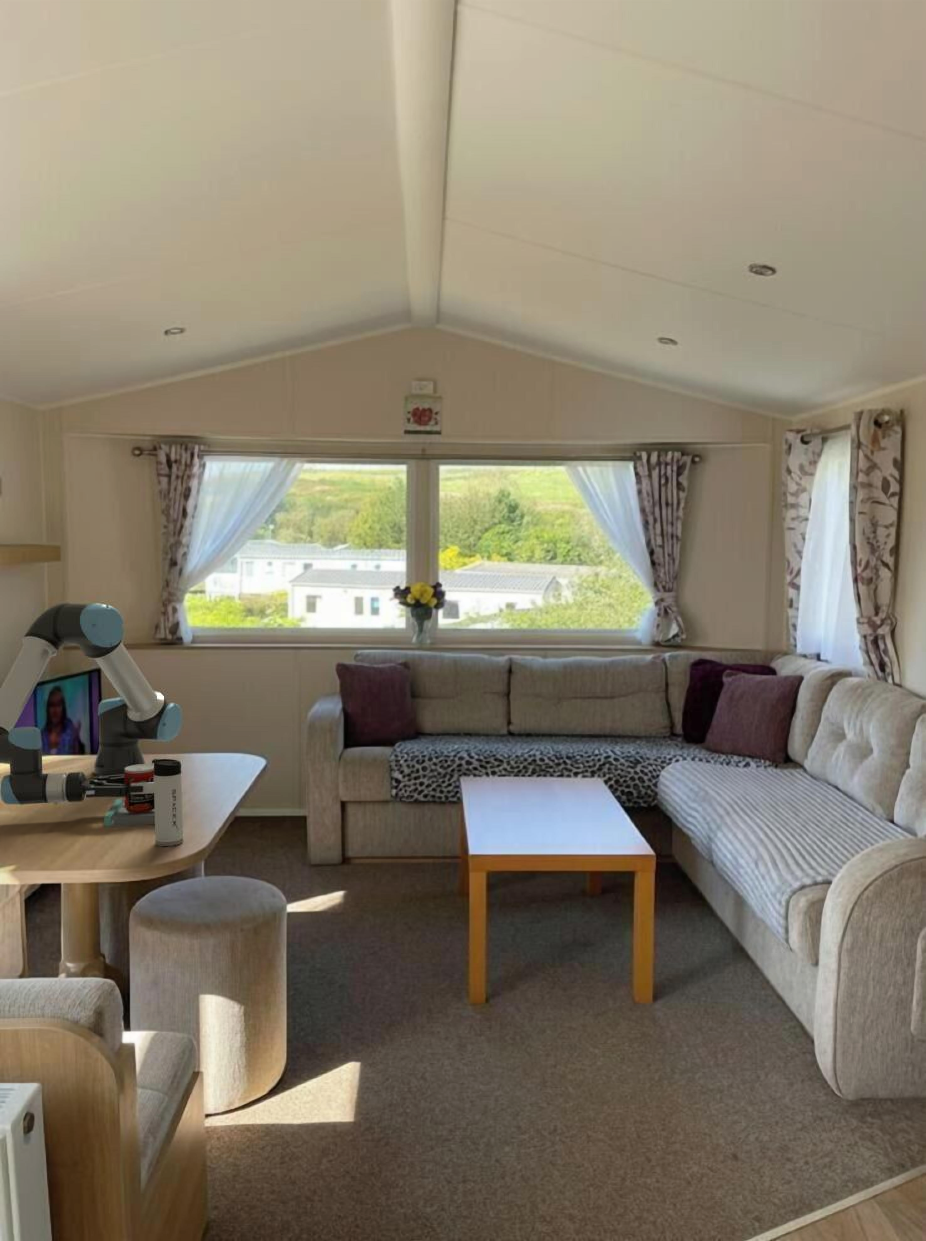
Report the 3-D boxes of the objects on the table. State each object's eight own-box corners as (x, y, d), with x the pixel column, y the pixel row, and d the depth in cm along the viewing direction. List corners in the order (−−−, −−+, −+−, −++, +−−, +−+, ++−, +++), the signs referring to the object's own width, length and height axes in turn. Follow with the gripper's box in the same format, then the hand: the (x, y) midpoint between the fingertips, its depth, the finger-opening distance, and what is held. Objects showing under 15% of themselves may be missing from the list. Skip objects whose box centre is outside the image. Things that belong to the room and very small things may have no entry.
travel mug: (157, 839, 230) (155, 757, 228) (185, 838, 230) (183, 756, 229) (151, 847, 224) (148, 762, 222) (180, 846, 224) (178, 762, 223)
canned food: (127, 814, 245) (126, 772, 244) (123, 807, 252) (122, 765, 251) (158, 810, 249) (157, 769, 248) (153, 803, 256) (152, 762, 255)
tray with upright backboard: (117, 807, 258) (116, 770, 257) (174, 804, 261) (174, 768, 260) (104, 826, 240) (103, 787, 240) (166, 823, 243) (165, 784, 242)
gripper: (76, 791, 257) (164, 787, 261) (58, 812, 237) (154, 808, 241) (75, 764, 257) (164, 760, 261) (57, 782, 236) (153, 778, 240)
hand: (159, 783), depth 251 cm, fingers closed on canned food, 8 cm apart
